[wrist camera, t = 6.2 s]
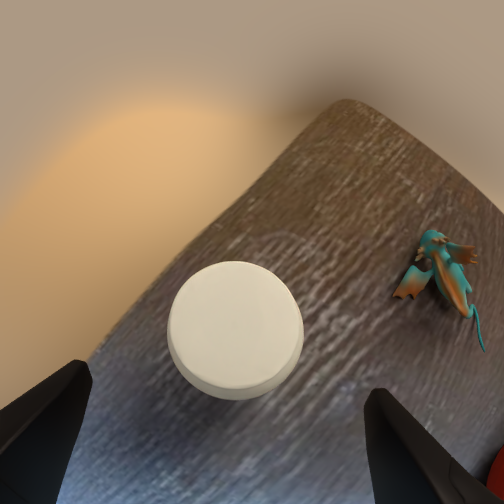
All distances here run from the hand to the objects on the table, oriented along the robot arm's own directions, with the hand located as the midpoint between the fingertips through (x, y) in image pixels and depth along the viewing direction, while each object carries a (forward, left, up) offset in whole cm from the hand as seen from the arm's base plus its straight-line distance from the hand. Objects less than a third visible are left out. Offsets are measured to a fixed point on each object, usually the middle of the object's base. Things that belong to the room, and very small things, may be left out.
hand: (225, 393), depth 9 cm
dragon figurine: (+12, -10, -10) cm, 18 cm away
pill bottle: (+2, +1, -10) cm, 10 cm away
